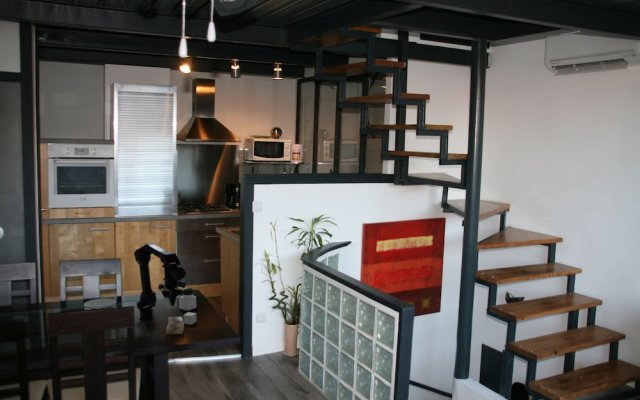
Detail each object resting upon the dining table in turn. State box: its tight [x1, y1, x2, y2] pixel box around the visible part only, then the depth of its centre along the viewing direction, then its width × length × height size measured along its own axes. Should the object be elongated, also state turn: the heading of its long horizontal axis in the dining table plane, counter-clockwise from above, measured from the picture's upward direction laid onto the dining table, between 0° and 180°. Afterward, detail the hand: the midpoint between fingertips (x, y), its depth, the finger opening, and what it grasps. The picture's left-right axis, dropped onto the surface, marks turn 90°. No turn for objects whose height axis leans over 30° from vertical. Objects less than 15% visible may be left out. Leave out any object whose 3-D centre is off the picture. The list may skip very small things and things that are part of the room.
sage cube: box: [163, 296, 178, 310], centre depth 312 cm, size 5×5×5 cm
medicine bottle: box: [178, 287, 197, 312], centre depth 346 cm, size 7×7×12 cm
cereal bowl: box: [83, 298, 117, 311], centre depth 333 cm, size 17×17×7 cm
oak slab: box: [166, 322, 185, 335], centre depth 308 cm, size 8×8×4 cm
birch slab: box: [167, 316, 184, 328], centre depth 308 cm, size 7×7×4 cm
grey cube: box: [183, 311, 197, 325], centre depth 322 cm, size 5×5×5 cm
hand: (170, 305), depth 312 cm, fingers closed on sage cube, 5 cm apart
